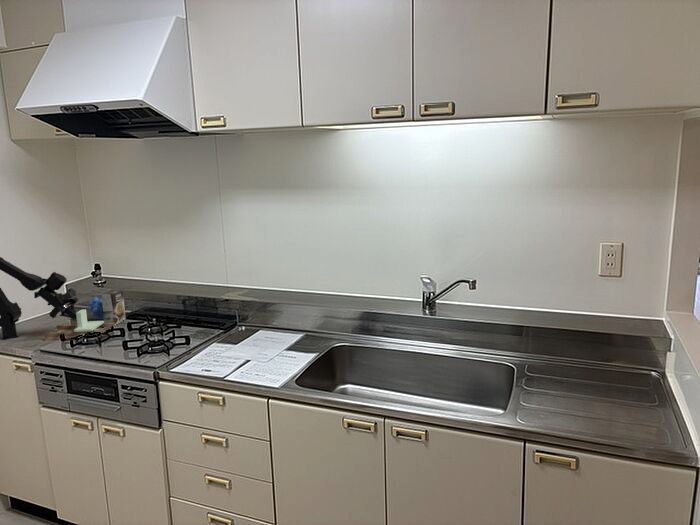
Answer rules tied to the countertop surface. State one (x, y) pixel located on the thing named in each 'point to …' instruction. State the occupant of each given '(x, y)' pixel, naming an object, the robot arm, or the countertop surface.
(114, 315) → the coffee box
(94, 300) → the grapes
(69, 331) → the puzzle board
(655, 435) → the countertop surface
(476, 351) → the countertop surface
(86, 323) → the mint green l-shaped block
